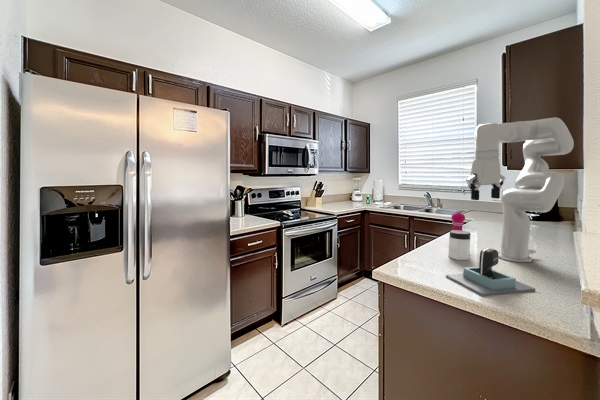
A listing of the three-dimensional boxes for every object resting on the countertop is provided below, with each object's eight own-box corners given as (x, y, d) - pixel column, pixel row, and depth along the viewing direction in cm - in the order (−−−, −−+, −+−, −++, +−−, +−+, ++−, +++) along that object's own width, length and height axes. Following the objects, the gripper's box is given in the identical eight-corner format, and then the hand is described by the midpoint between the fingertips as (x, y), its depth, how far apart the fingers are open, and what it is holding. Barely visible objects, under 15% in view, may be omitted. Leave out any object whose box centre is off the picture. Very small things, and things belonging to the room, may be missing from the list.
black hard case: (490, 285, 88) (492, 252, 87) (477, 281, 92) (479, 250, 90) (498, 280, 92) (500, 249, 91) (485, 277, 96) (487, 246, 94)
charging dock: (491, 272, 101) (492, 263, 101) (535, 290, 86) (536, 279, 85) (446, 276, 98) (446, 267, 98) (482, 296, 82) (483, 284, 82)
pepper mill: (459, 250, 131) (461, 211, 129) (445, 247, 138) (447, 209, 136) (467, 248, 135) (470, 210, 133) (454, 245, 141) (455, 208, 139)
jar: (443, 255, 123) (444, 230, 122) (455, 253, 126) (456, 229, 125) (461, 261, 115) (463, 234, 114) (474, 259, 118) (475, 233, 117)
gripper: (496, 155, 108) (494, 196, 110) (460, 157, 105) (459, 199, 107) (514, 154, 101) (512, 198, 103) (476, 156, 98) (475, 201, 100)
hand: (485, 198), depth 105 cm, fingers open, 9 cm apart
